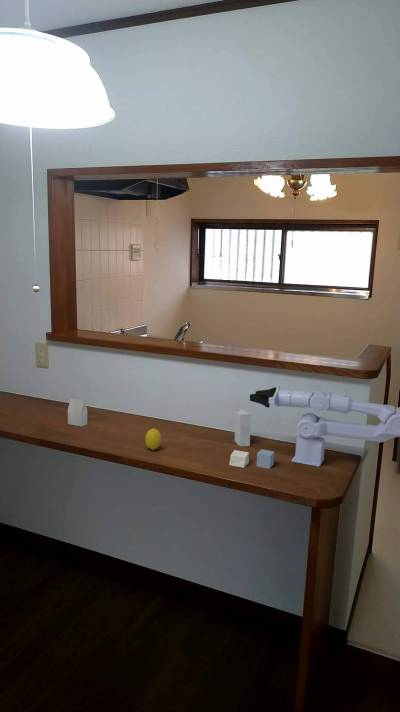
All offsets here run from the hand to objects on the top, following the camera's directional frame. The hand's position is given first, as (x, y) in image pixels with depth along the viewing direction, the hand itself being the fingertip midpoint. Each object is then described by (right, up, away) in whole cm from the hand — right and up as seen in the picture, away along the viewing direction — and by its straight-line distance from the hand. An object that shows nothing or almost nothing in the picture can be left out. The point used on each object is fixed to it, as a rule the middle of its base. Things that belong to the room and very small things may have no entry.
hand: (252, 395), depth 179 cm
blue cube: (+3, -22, -9) cm, 24 cm away
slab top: (-5, -20, -8) cm, 23 cm away
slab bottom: (-5, -22, -8) cm, 24 cm away
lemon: (-35, -19, +2) cm, 40 cm away
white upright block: (-68, -14, +28) cm, 74 cm away
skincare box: (-3, -19, +11) cm, 22 cm away
